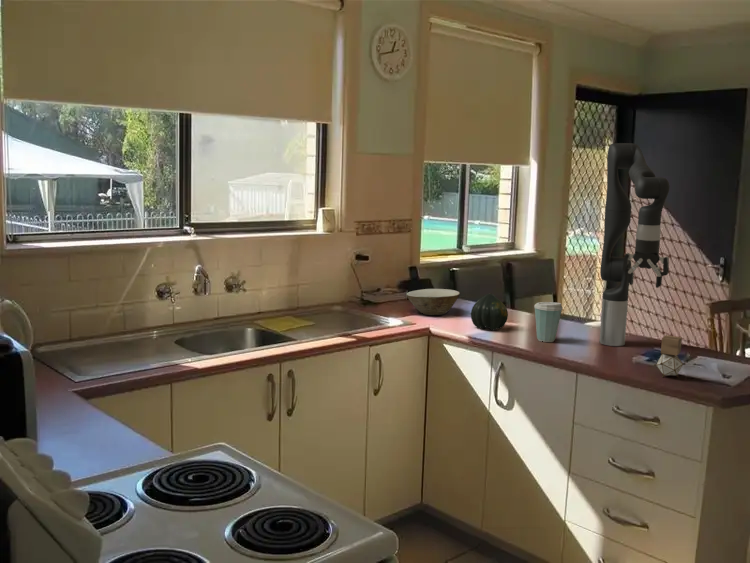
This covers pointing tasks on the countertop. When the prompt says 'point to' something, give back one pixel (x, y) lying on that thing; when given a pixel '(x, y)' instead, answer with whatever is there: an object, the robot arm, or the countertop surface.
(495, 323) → the squash
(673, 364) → the game die
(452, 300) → the bowl
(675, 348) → the walnut block
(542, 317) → the disposable coffee cup
